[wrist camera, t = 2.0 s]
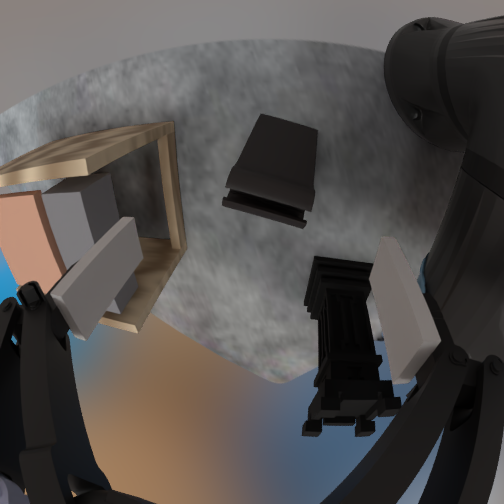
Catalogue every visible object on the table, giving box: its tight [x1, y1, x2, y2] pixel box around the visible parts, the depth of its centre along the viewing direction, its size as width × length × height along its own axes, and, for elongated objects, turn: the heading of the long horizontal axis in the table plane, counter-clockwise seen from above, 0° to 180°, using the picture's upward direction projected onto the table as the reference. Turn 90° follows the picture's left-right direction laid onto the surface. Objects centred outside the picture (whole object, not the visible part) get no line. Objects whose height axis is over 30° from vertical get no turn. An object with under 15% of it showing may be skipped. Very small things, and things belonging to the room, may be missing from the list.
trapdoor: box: [0, 173, 138, 314], centre depth 22 cm, size 18×12×4 cm, turn 90°
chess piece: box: [302, 256, 402, 437], centre depth 28 cm, size 8×8×20 cm
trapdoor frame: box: [0, 121, 187, 333], centre depth 27 cm, size 21×17×15 cm
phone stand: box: [222, 114, 318, 229], centre depth 23 cm, size 9×6×12 cm, turn 166°
